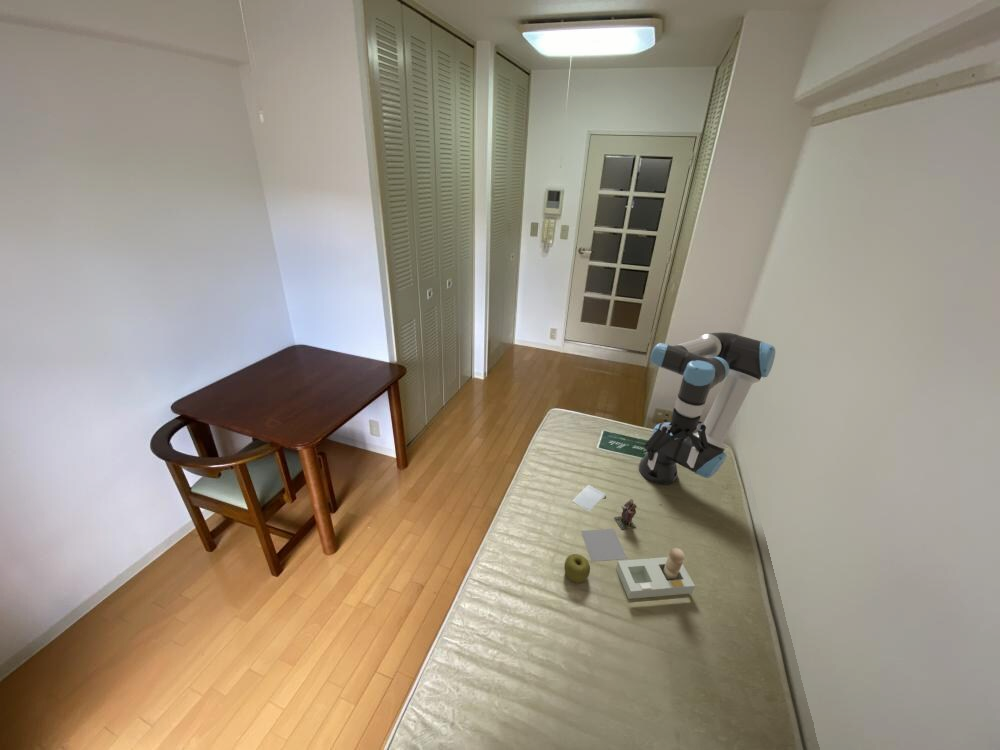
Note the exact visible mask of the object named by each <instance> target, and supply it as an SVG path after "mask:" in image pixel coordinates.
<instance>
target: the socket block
mask: <svg viewBox="0 0 1000 750" xmlns="http://www.w3.org/2000/svg"><path fill="white" fill-rule="evenodd" d="M667 559H668V556H665V557H664V556H663V557H654V558H653V557H652V558H651V557H650V558H640V559H639V558H638V559H622V560H618V561H617V564H616V566H615V569H616V572H617V574H618V577H619V580H620V582H621V584H622V586H623V588H624V592H625V594H626V596H627V598H628V599H627V600H629V599H631V600H632V599H642V598H643V599H644V598H651V597H653V598H654V597H665V596H676V595H688V594H689V596H692V594H693V592H694V590H695V587H696V585H695V583H694V582H693V580H692V578H691V577H690V574H689V573H688V570H686V568H685V566H684V564H683V563H682V565H681V568H680V570H679V573H678V575H677V578H676V580H669V581H667V580H666V578H665V576H664V574H663V570H664V567H665V564H666V562H667Z"/></svg>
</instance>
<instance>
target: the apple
mask: <svg viewBox="0 0 1000 750" xmlns="http://www.w3.org/2000/svg"><path fill="white" fill-rule="evenodd" d="M590 572H591V565H590V563H589V561H588V559H587V558H586V557H585V556H583V555H581V554H578V553H572V554H570V555H568V556H567V557H566V558H565V562H564V573H565V576H566V577H567V578H568V579H569V581H571V582H573V583H575V584H579V583H583V582H585V581H586V580H587V579H588V578H589V575H590Z"/></svg>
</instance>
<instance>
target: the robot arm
mask: <svg viewBox="0 0 1000 750" xmlns="http://www.w3.org/2000/svg"><path fill="white" fill-rule="evenodd" d="M775 357H776V349H775V346H774V345H772V344H770V343H766V342H765V341H762V340H757V339H754V338H750V337H747V336H743V335H739V334H737V333H732V332H722V331H721V332H710V333H705V334H702V335H700V336H698V337H697V338H696V339H693V340H688V341H686V342H681V343H679V344H674V345H670V344H668V343H663V342H659V343H657V344H656V345H655V346H654V347H653V348H652V350H651V355H650V362H651V364H653V365H655V366H657V367H659V368H662V369H665V370H667V371H670V372H672V373H676V374H678V375H681V376H682V380H681V382H680V387H679V390H678V394H677V396H676V399H675V400H676V401H675V404H674V408H673V410H672V413H671V414H672V415H671V421H670V422H668V421H667V422H661V423H658V424H656V425H655V426H654V428H653V430H652V432H651V436H650V437H649V438H648V440H647V442H646V443H645V444H644V445H643V447H644V448H645V450H646V453H645V455H644V456H643V458H641V460H640V462H639V464H638V471H639V472H640V474H641V475H642V477H644V478H645V479H646V480H648V481H649V482H651V483H655V484H657V485H671V484H673V483H674V482H675V481H676V479H677V477H678V467H677V464H678V465H680V466H682V467H683V468H684V469H687V470H689V471H691V472H693V473H694V474H695V475H699V476H700V477H703V478H704V479H709V478H712V477H713V476H714V475H715V474H716V473H717V472H718V471H719V469H720V468H721V467H722V466H723V464H724V463H725V461H726V458H727V457H728V456H727V454H726V452H724V451H725V450H726V447H725V444H724V441H725V439H726V437H727V435H728V433H729V431H730V429H731V428H732V425H733V424H734V421H735V419H736V417H737V415H738V413H739V411H740V409H741V407H742V405H743V403H744V401H745V399H746V398H747V396H748V393H749V391H750V389H751V388H752V385H753V384H755V383H758V382H760V381H761V378H768V376H769V375H770V372H771V370H772V369H773V368H772V367H773V365H774V360H775ZM721 382H723V383H722V385H721V387H720V390H719V391H718V393H717V395H716V397H715V399H714V401H713V403H712V405H711V408H710V410H709V411H708V414H707V416H706V417H705V419H704V422H702V421H700V419H701V416H702V413H703V411H704V408H705V405H706V402H707V398H708V395H709V394H710V393H709V392H710V390H711V389H713V388H714V387H715V386H717V385H718V384H720V383H721ZM695 431H697V432H695ZM694 432H695V433H694Z"/></svg>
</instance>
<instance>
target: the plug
mask: <svg viewBox="0 0 1000 750" xmlns="http://www.w3.org/2000/svg"><path fill="white" fill-rule="evenodd" d="M667 557H668V559H667V562H666V564H665V567H664V570H663V574H664V576H665V578H666V580H667V581H669V580H676V578H677V575H678V573H679V570H680V568H681V565H682V564H683V563H684V560H685V558H686V555H685V553H684V551H683V550H682V549H680V548H678V547H673V548H671V549H670V551H669V553H668V556H667Z"/></svg>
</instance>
